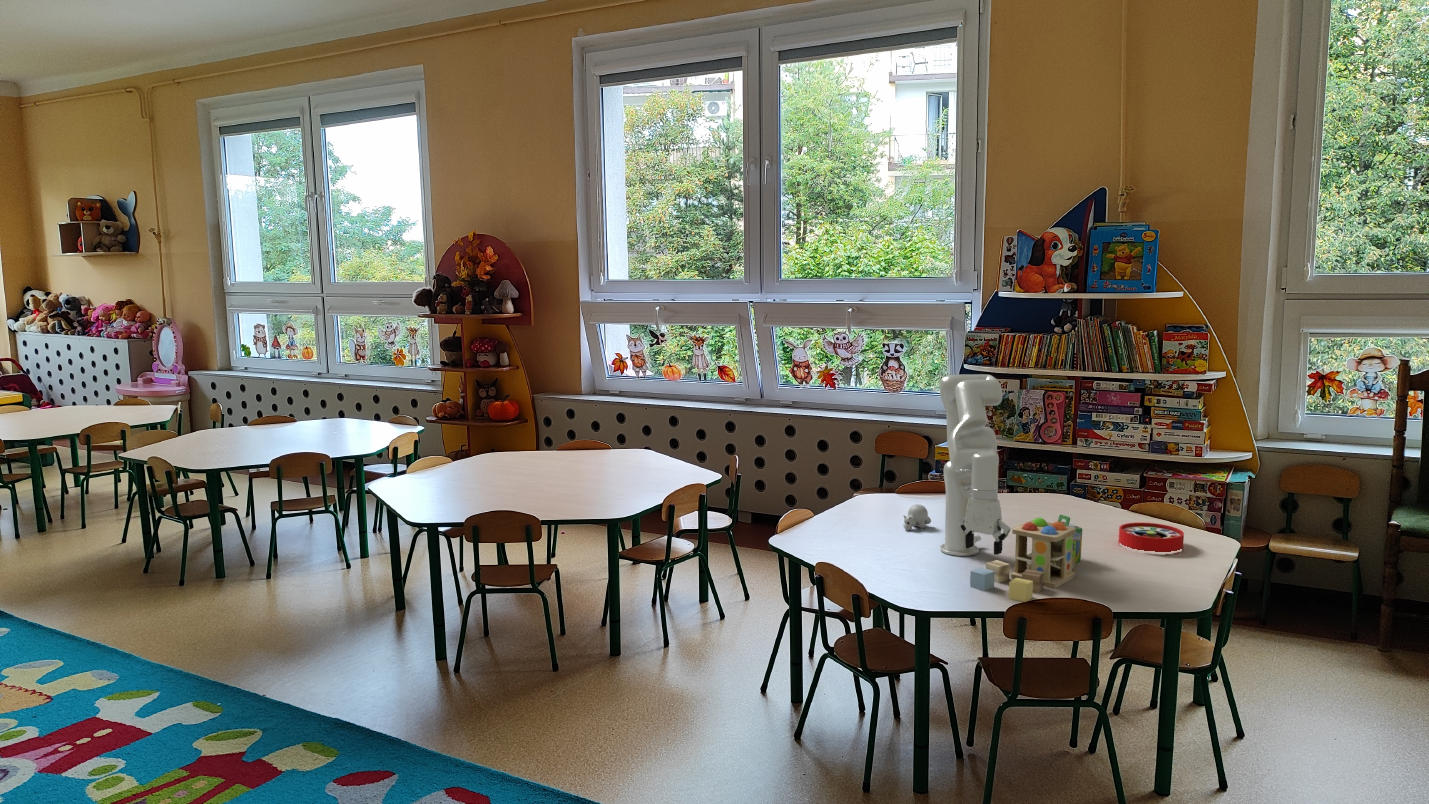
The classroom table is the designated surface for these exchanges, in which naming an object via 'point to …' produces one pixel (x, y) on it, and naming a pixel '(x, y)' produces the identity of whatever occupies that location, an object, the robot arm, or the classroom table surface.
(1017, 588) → the mustard cube
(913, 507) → the chubby cartoon animal
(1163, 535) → the toy clock
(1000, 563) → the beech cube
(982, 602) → the classroom table surface
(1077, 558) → the chalk box
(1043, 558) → the pounding bench toy
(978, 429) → the robot arm
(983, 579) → the slate-blue cube
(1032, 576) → the walnut cube
